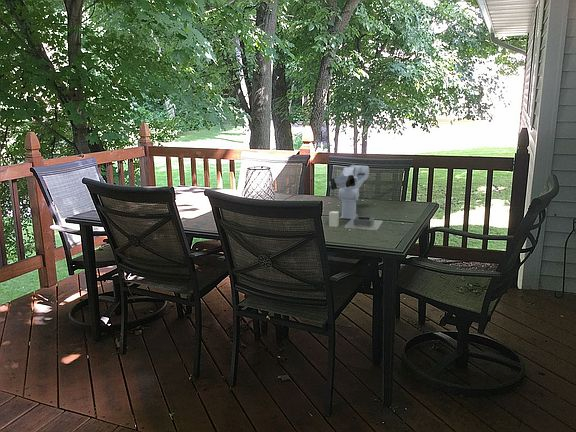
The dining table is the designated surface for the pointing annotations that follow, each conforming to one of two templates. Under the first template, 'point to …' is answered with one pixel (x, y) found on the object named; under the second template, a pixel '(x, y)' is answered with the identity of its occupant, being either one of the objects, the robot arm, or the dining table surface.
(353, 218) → the robot arm
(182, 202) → the dining table surface
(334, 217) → the plug
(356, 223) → the socket
